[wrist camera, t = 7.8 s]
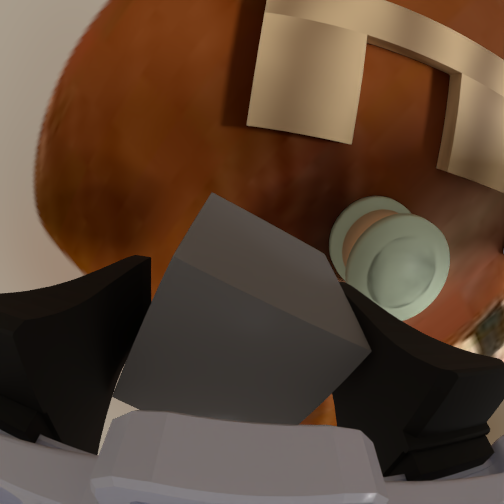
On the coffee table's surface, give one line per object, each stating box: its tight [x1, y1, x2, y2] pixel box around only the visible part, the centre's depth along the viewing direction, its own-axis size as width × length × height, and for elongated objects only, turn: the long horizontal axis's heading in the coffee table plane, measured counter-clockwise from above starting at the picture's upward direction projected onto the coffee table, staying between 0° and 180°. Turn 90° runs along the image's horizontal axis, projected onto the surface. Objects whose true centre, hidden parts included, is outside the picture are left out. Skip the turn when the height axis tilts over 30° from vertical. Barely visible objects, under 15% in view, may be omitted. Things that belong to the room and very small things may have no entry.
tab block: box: [112, 193, 371, 425], centre depth 10 cm, size 5×5×6 cm
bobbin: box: [329, 196, 450, 321], centre depth 18 cm, size 6×6×5 cm
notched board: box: [247, 0, 504, 193], centre depth 16 cm, size 19×10×2 cm, turn 82°
